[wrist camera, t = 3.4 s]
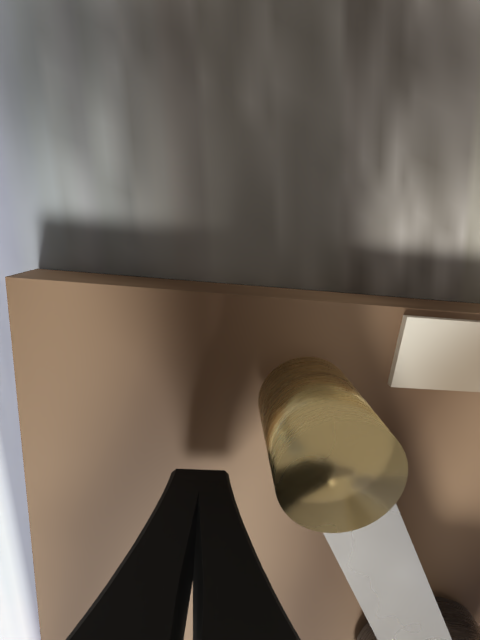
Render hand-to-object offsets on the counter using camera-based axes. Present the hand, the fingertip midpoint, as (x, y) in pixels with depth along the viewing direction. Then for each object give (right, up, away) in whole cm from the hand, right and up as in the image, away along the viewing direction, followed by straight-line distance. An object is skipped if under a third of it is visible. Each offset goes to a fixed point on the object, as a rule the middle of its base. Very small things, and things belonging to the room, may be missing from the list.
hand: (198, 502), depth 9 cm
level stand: (+4, -3, +4) cm, 7 cm away
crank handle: (+6, -4, +3) cm, 8 cm away
